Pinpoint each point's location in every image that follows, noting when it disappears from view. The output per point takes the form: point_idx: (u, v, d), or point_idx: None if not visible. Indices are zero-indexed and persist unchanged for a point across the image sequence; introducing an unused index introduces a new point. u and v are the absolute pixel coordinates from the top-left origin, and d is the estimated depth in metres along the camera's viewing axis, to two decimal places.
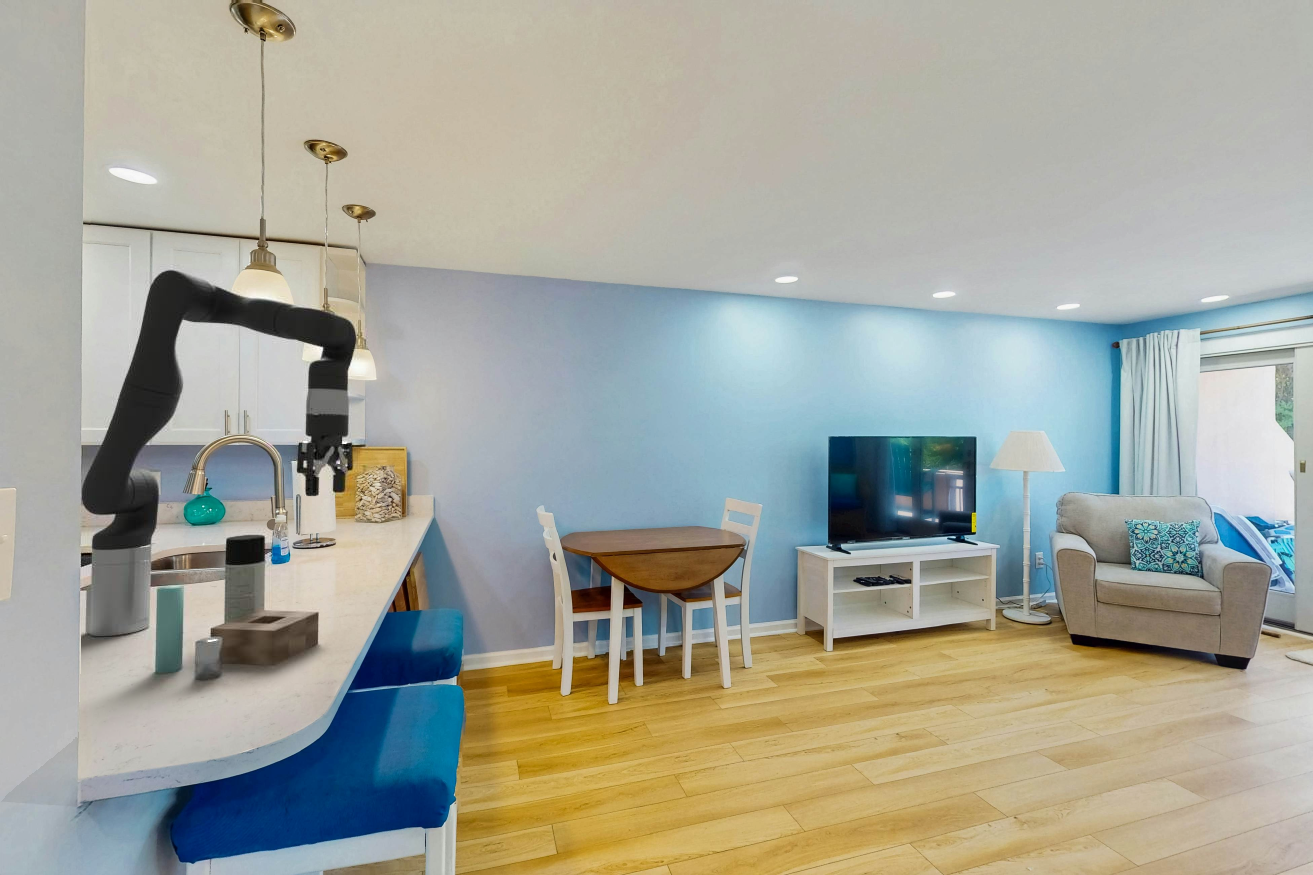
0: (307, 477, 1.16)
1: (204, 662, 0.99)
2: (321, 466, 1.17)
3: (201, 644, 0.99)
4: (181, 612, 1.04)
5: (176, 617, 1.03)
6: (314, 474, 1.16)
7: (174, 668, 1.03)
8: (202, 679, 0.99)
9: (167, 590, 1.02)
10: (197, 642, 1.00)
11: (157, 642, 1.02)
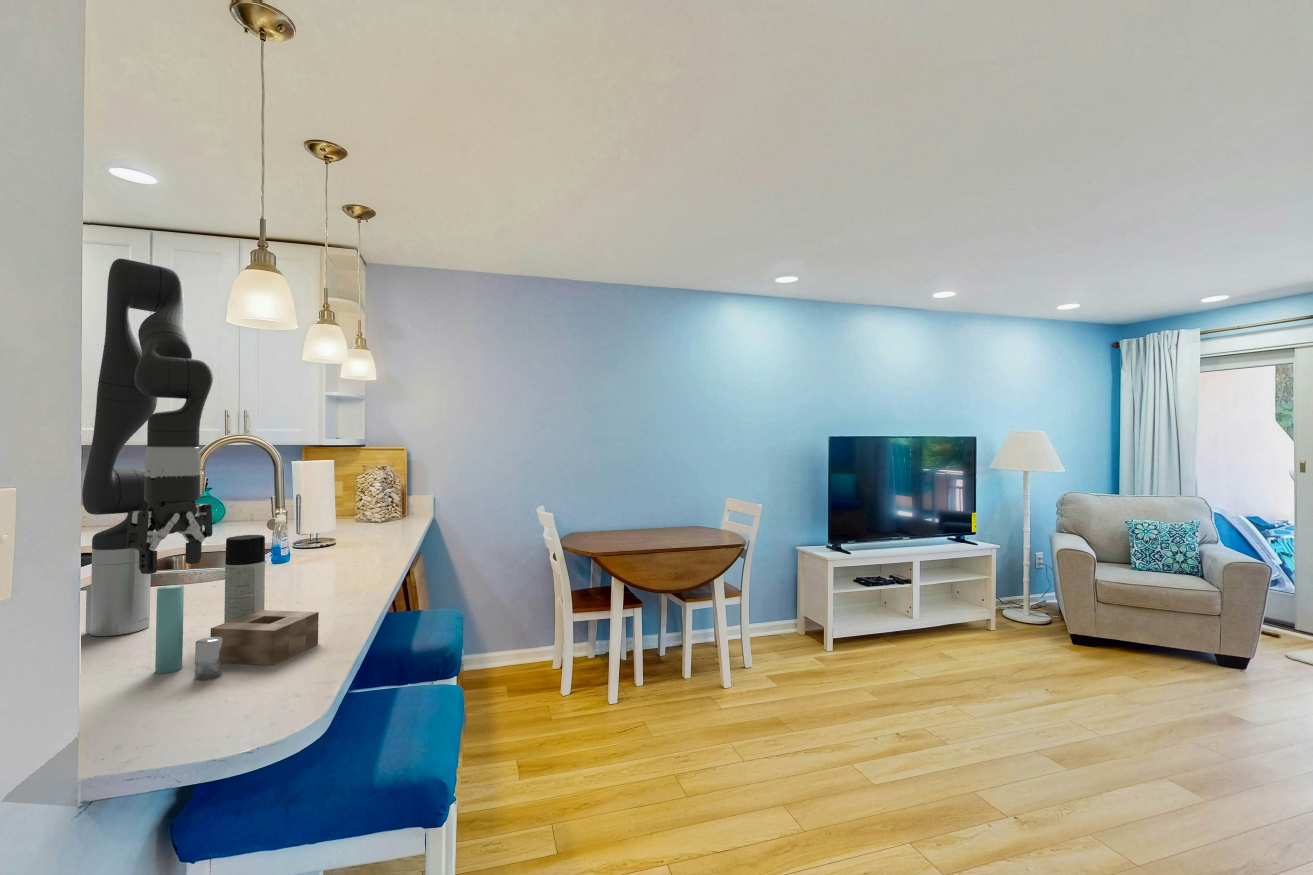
0: (141, 552, 0.99)
1: (204, 662, 0.99)
2: (160, 538, 1.00)
3: (201, 644, 0.99)
4: (181, 612, 1.04)
5: (176, 617, 1.03)
6: (149, 548, 0.98)
7: (174, 668, 1.03)
8: (202, 679, 0.99)
9: (167, 590, 1.02)
10: (197, 642, 1.00)
11: (157, 642, 1.02)
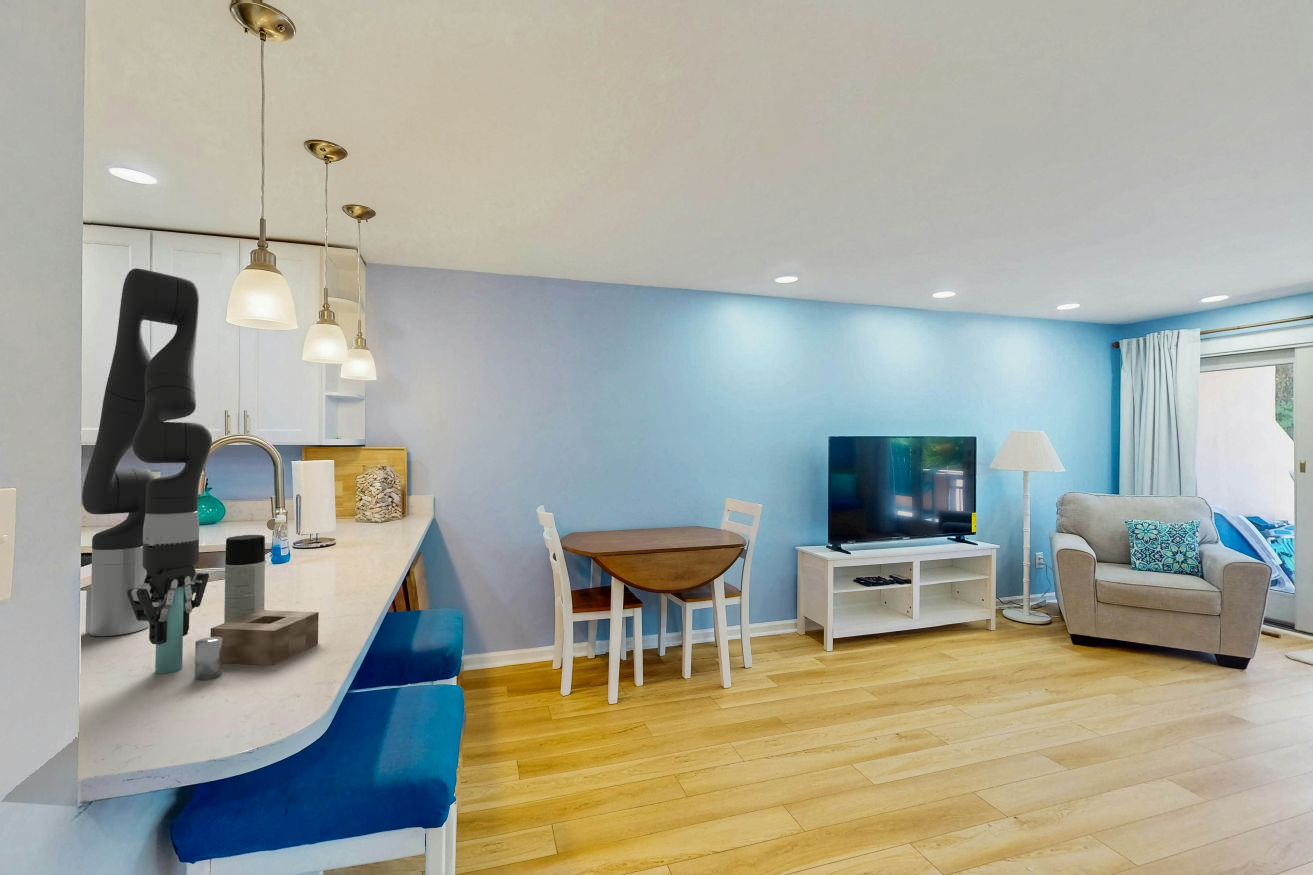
0: (151, 623, 1.00)
1: (204, 662, 0.99)
2: (166, 607, 1.01)
3: (201, 644, 0.99)
4: (181, 612, 1.04)
5: (176, 617, 1.03)
6: (159, 620, 1.00)
7: (174, 668, 1.03)
8: (202, 679, 0.99)
9: None
10: (197, 642, 1.00)
11: None
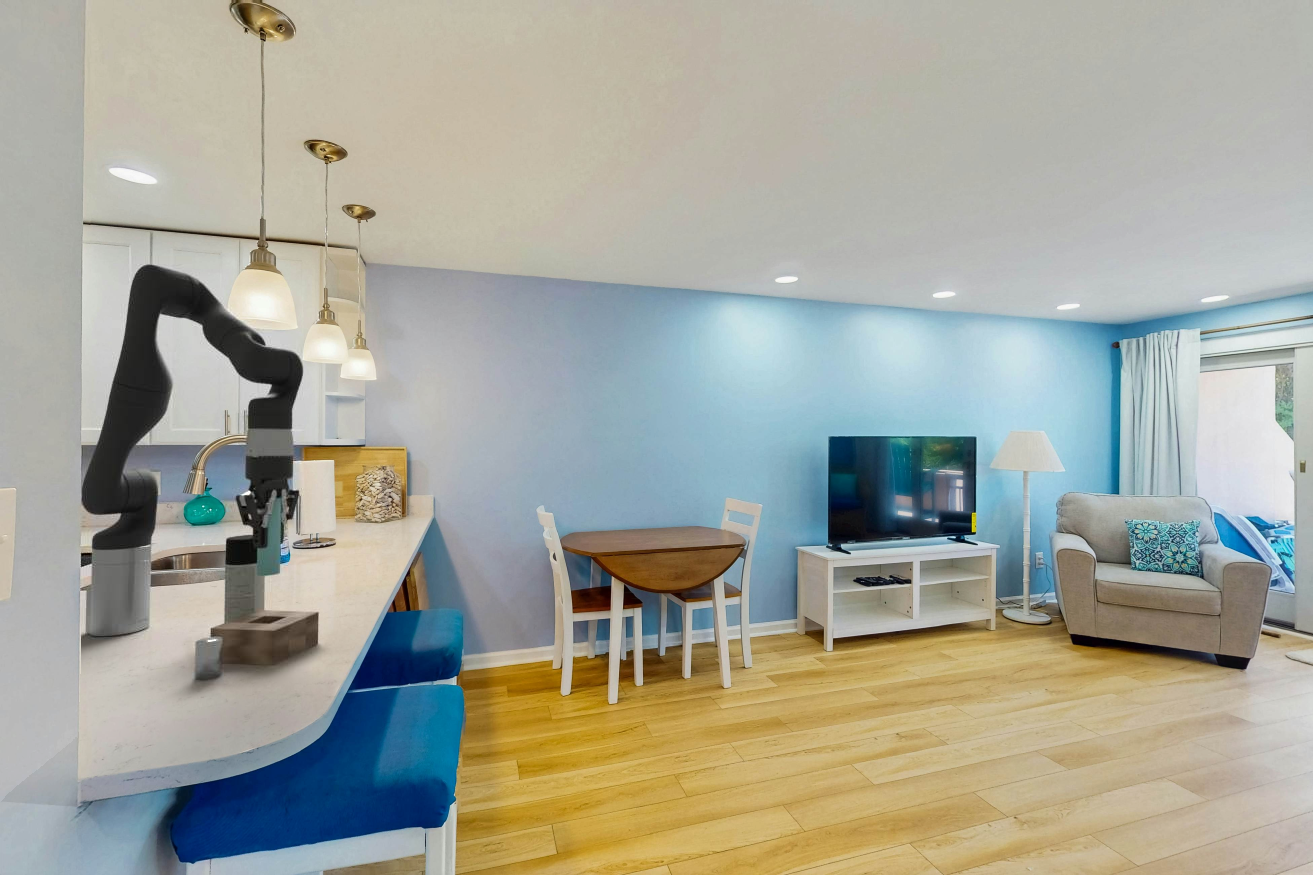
0: (254, 529, 1.10)
1: (204, 662, 0.99)
2: (267, 515, 1.11)
3: (201, 644, 0.99)
4: (279, 521, 1.13)
5: (275, 525, 1.12)
6: (262, 525, 1.10)
7: (274, 571, 1.12)
8: (202, 679, 0.99)
9: None
10: (197, 642, 1.00)
11: None
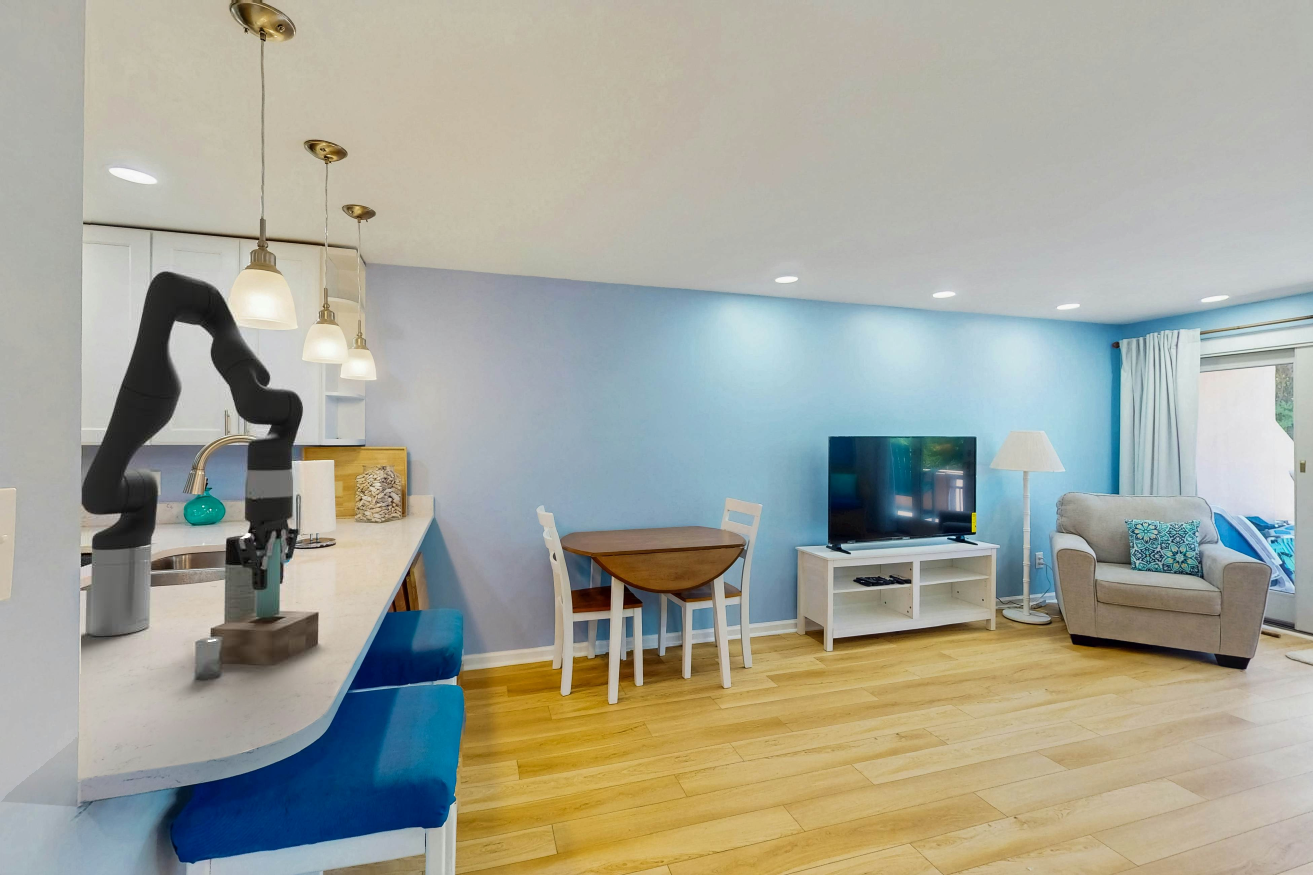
0: (254, 570, 1.10)
1: (204, 662, 0.99)
2: (267, 556, 1.11)
3: (201, 644, 0.99)
4: (279, 562, 1.13)
5: (275, 566, 1.12)
6: (261, 567, 1.10)
7: (273, 613, 1.12)
8: (202, 679, 0.99)
9: None
10: (197, 642, 1.00)
11: None
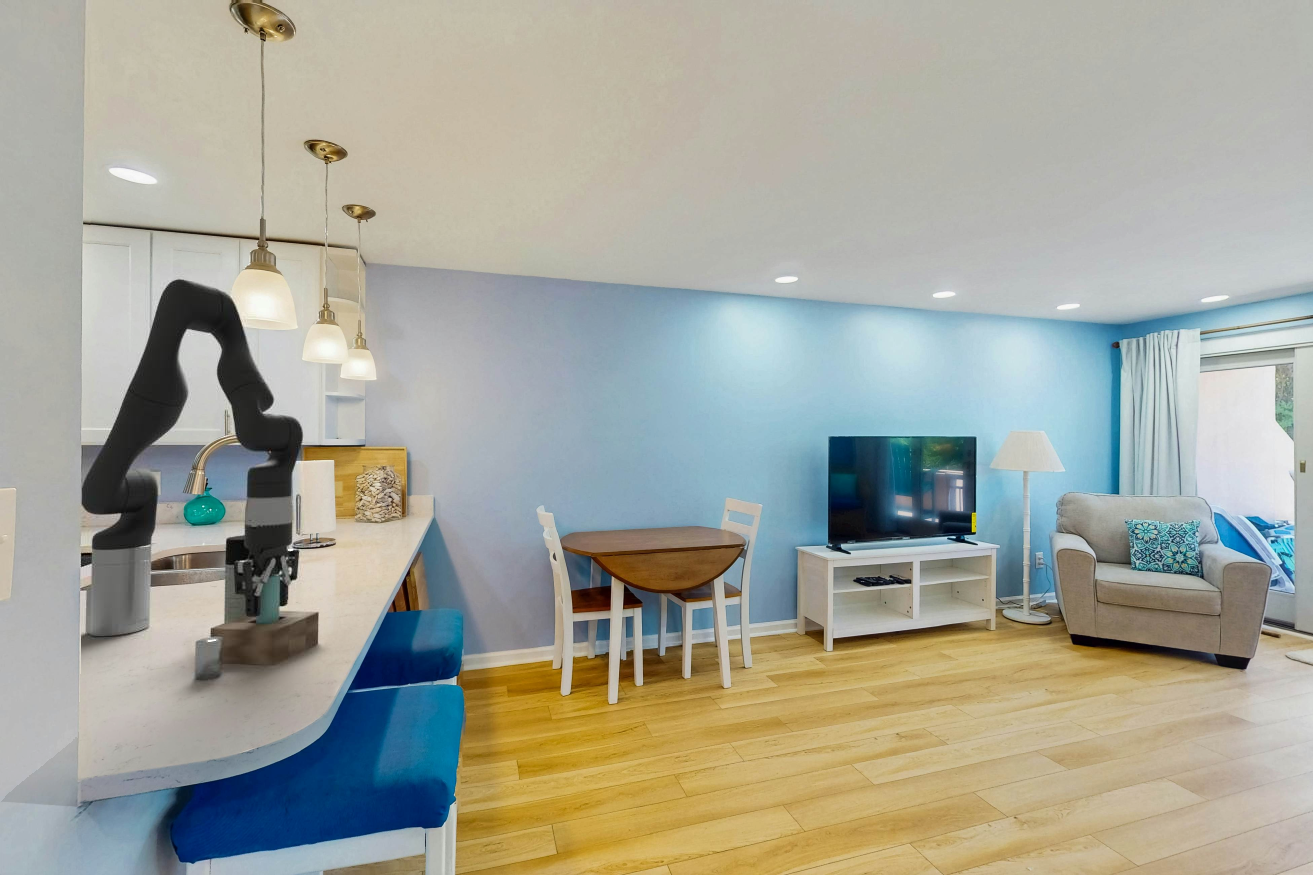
0: (247, 597, 1.08)
1: (204, 662, 0.99)
2: (262, 583, 1.10)
3: (201, 644, 0.99)
4: (278, 599, 1.13)
5: (274, 604, 1.12)
6: (255, 594, 1.08)
7: None
8: (202, 679, 0.99)
9: None
10: (197, 642, 1.00)
11: None
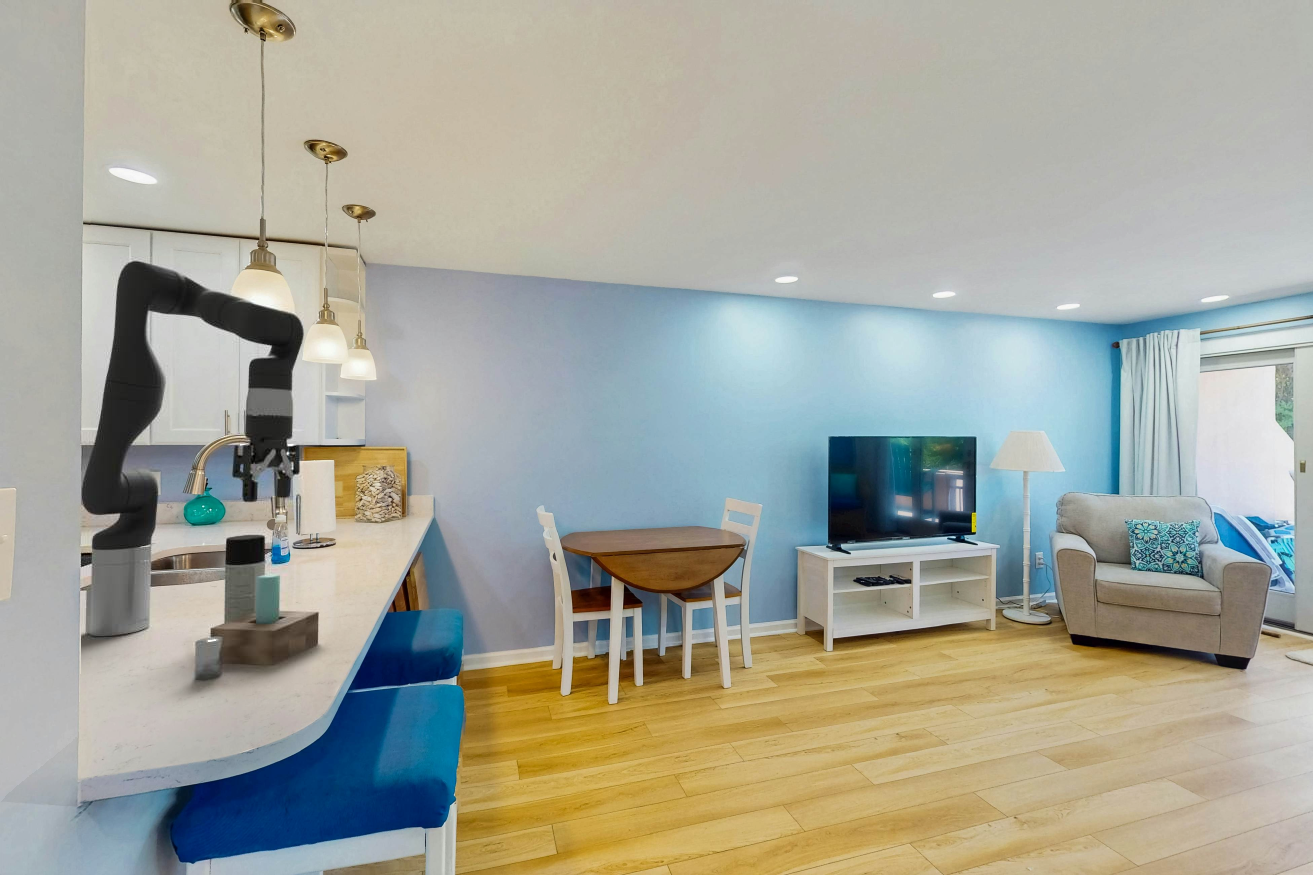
0: (244, 482, 1.09)
1: (204, 662, 0.99)
2: (260, 470, 1.11)
3: (201, 644, 0.99)
4: (278, 599, 1.13)
5: (274, 604, 1.12)
6: (252, 479, 1.09)
7: None
8: (202, 679, 0.99)
9: (267, 579, 1.11)
10: (197, 642, 1.00)
11: None
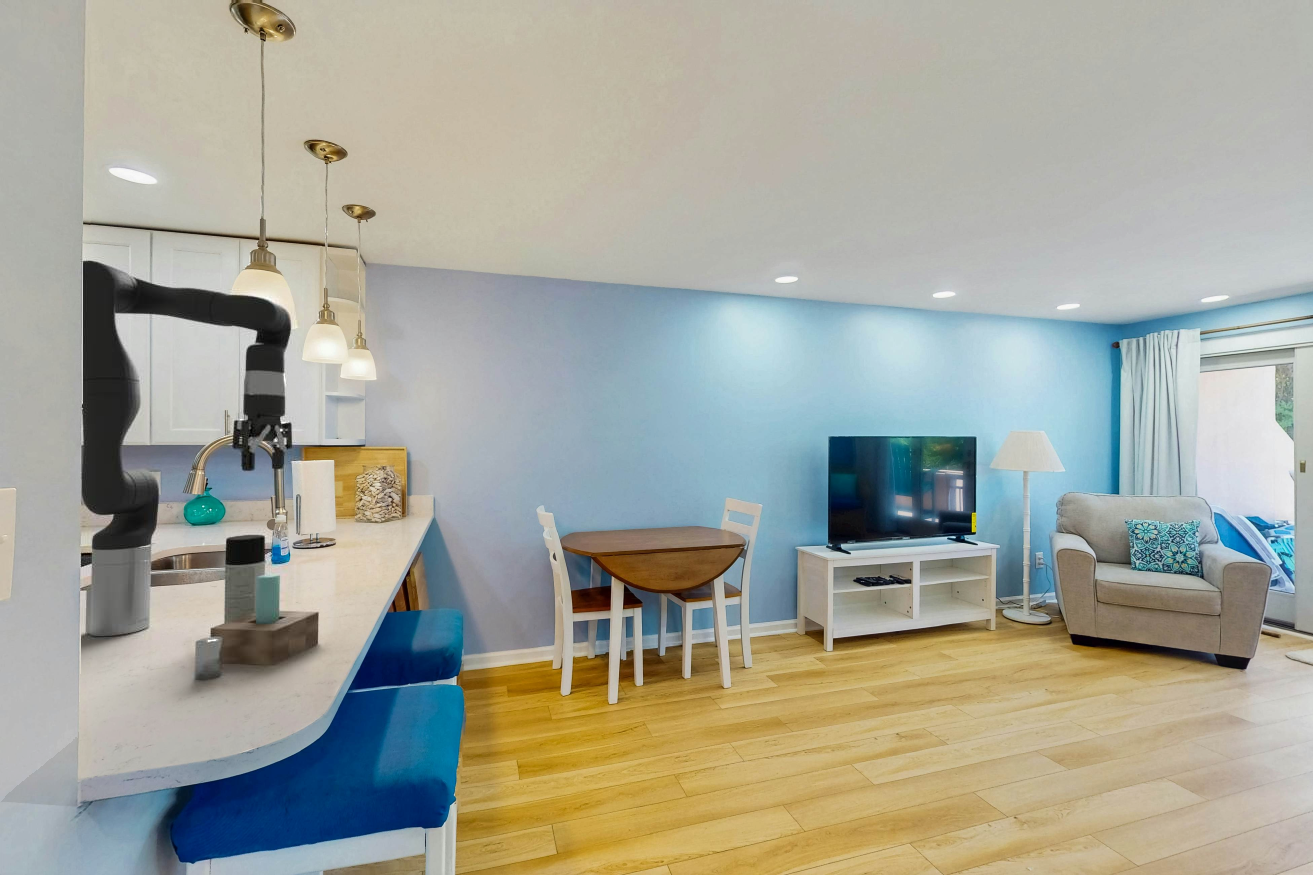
0: (243, 453, 1.24)
1: (204, 662, 0.99)
2: (257, 443, 1.25)
3: (201, 644, 0.99)
4: (278, 599, 1.13)
5: (274, 604, 1.12)
6: (249, 450, 1.24)
7: None
8: (202, 679, 0.99)
9: (267, 579, 1.11)
10: (197, 642, 1.00)
11: None
